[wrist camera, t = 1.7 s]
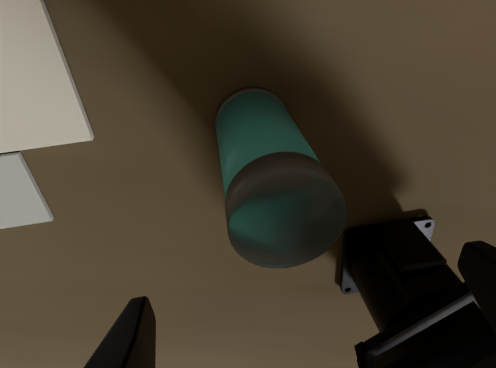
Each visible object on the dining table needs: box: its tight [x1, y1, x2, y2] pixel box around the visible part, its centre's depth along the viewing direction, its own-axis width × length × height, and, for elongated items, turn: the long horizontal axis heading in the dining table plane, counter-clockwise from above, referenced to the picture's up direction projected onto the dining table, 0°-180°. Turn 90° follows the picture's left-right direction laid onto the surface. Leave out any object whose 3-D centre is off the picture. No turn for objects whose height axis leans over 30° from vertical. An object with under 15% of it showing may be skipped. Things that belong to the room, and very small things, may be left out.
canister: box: [215, 87, 347, 268], centre depth 15 cm, size 4×4×9 cm
